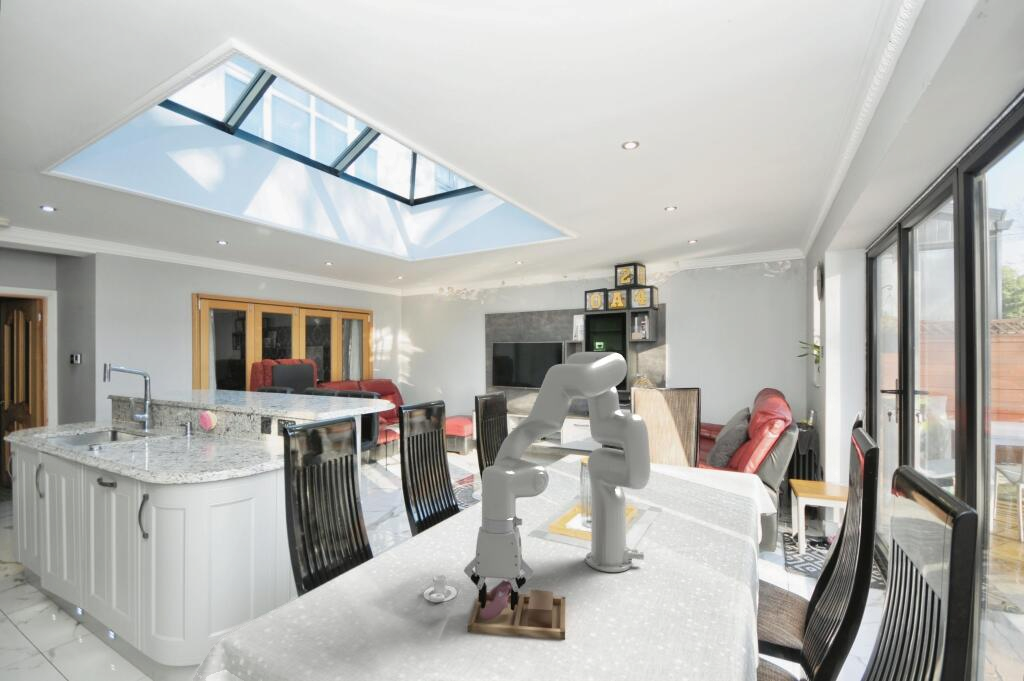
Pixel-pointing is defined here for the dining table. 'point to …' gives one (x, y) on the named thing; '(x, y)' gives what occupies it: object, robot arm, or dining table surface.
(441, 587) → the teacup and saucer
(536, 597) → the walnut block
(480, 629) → the oak organiser tray
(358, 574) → the dining table surface
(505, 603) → the video game controller
